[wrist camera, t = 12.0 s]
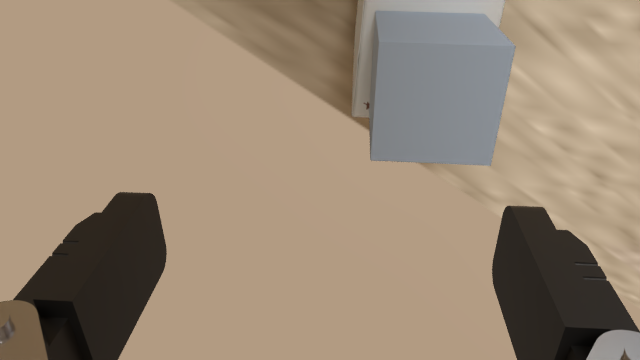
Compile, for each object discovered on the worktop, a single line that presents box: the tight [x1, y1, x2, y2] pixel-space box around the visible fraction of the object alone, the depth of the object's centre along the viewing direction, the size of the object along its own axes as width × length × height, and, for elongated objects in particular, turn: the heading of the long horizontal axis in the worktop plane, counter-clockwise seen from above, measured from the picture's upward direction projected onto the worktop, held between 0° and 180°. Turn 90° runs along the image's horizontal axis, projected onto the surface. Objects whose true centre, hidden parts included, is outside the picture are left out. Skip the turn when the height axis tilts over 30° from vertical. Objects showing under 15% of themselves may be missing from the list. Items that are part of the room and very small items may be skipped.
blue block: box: [369, 11, 516, 166], centre depth 24 cm, size 6×6×6 cm
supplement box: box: [351, 0, 505, 118], centre depth 32 cm, size 7×7×13 cm
